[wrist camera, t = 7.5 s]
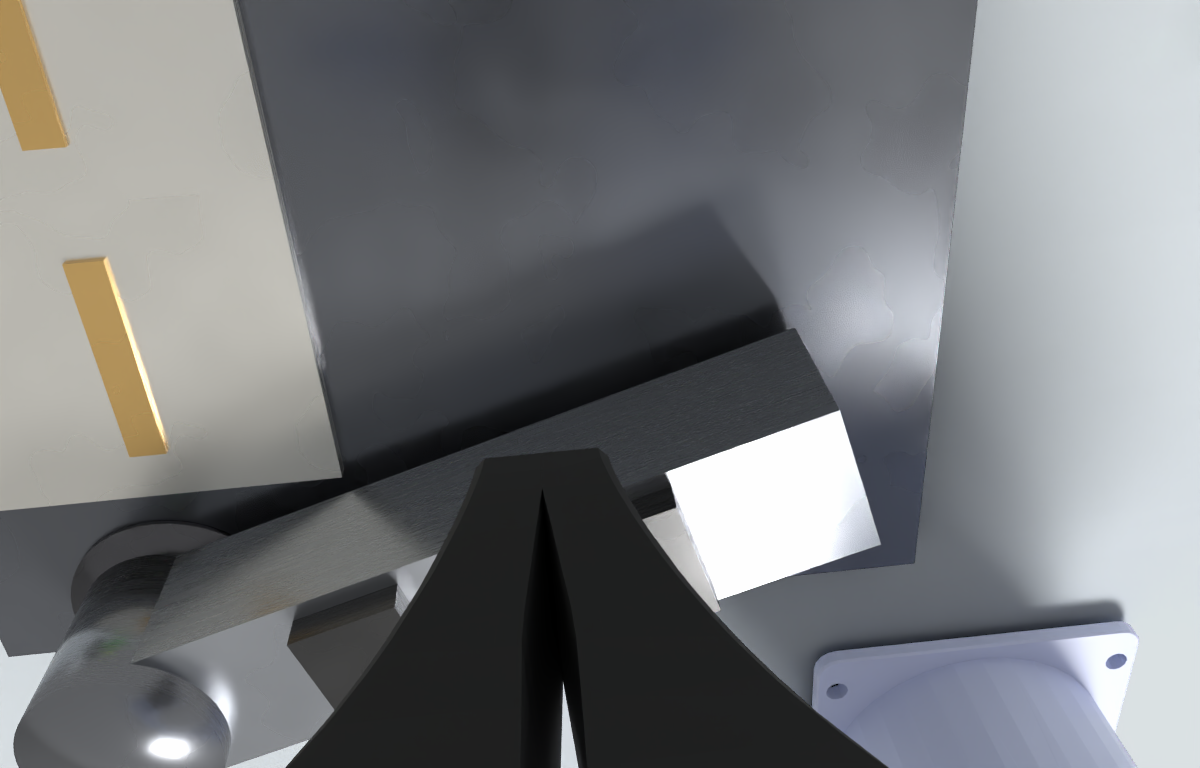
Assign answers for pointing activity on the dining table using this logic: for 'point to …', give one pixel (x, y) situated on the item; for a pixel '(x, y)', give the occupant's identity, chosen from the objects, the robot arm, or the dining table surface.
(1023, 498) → the dining table surface
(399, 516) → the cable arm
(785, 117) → the psu panel
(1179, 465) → the dining table surface
